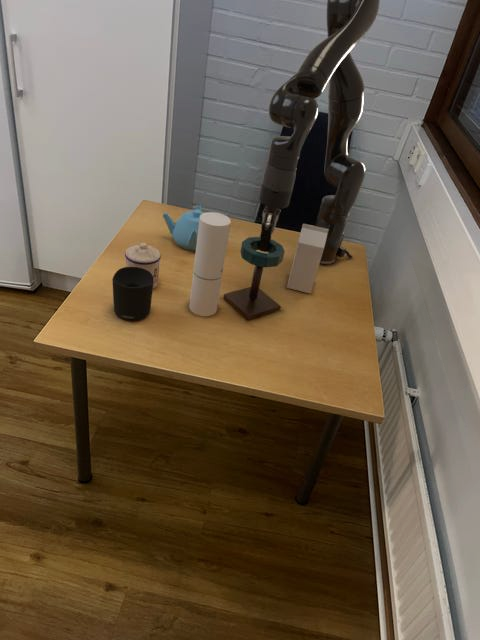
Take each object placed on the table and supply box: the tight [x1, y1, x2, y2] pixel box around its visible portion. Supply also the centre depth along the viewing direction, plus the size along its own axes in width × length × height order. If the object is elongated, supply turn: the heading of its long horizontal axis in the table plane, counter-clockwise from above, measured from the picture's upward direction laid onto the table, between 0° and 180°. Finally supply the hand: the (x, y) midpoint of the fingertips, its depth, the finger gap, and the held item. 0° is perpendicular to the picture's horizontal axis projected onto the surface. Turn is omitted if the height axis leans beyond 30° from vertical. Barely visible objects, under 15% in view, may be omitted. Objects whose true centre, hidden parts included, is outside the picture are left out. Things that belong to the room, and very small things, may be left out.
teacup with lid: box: [124, 242, 162, 290], centre depth 124 cm, size 12×9×12 cm
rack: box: [223, 265, 281, 322], centre depth 122 cm, size 11×11×14 cm
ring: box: [240, 236, 285, 268], centre depth 116 cm, size 11×11×3 cm
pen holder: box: [111, 266, 154, 322], centre depth 112 cm, size 9×9×10 cm
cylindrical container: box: [189, 211, 232, 317], centre depth 114 cm, size 7×7×25 cm
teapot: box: [162, 205, 204, 252], centre depth 146 cm, size 15×15×11 cm
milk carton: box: [286, 223, 328, 294], centre depth 133 cm, size 7×7×19 cm
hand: (263, 248), depth 121 cm, fingers closed on ring, 2 cm apart
